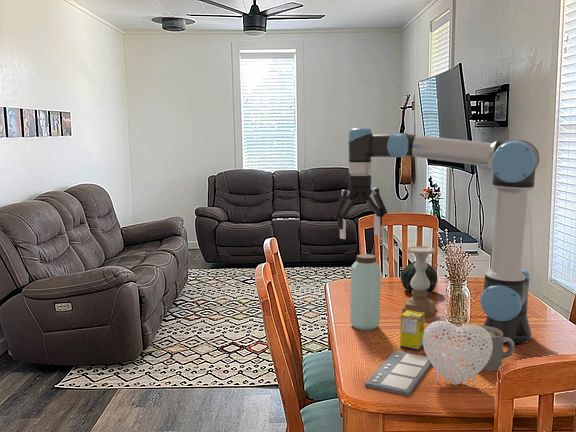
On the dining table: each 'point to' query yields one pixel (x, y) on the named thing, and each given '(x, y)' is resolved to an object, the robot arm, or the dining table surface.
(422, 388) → the dining table surface
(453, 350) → the decorative heart
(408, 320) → the supplement box
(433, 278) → the squash
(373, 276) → the water bottle
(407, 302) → the candle holder
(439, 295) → the dining table surface
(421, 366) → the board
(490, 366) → the coffee mug
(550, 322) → the dining table surface
